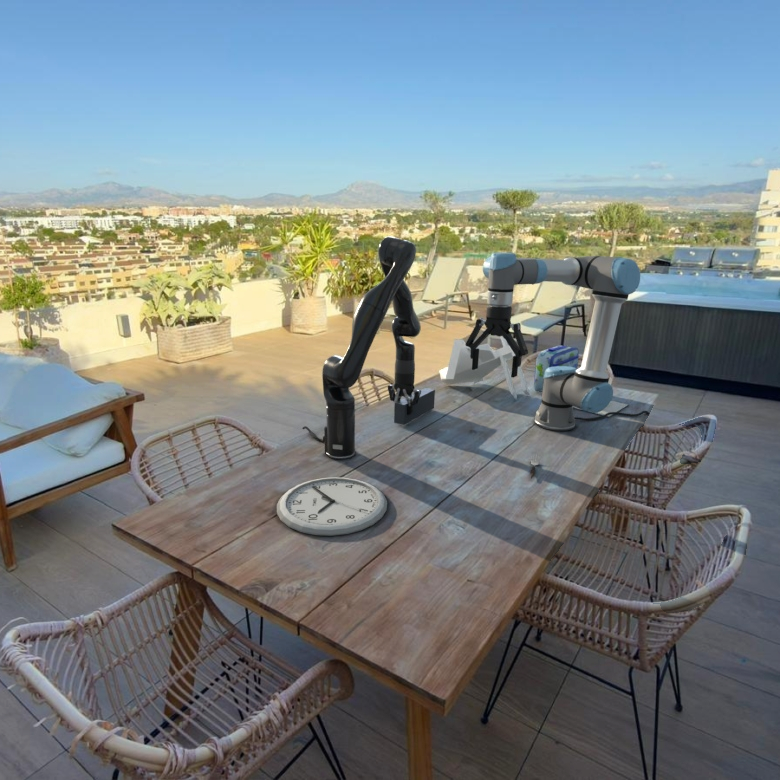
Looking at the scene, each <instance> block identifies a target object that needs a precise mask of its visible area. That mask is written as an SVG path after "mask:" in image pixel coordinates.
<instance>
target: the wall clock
mask: <svg viewBox="0 0 780 780" xmlns="http://www.w3.org/2000/svg"><path fill="white" fill-rule="evenodd" d="M387 509H388V500H387V498H386V496H385V494H384V493H383V492H382V491H381V490H380V489H379V488H377V487H376V486H374V485H372V484H371V483H369V482H365V481H362V480H359V479H355V478H349V477H338V476H337V477H335V476H333V477H332V476H331V477H322V478H317V479H312V480H307V481H305V482H302V483H299V484H297V485H295V486H293V487H292V488H290V489H288V490H287V491H286V492H285V493H284V494H283V495H281V496H280V498H279V499H278V502H277V503H276V515H277V517H278V518H279V520H280V521H281V522H282V523H283V524H285V525H286V526H287V527H288V528H290V529H293V530H295V531H297V532H299V533H303V534H308V535H312V536H327V537H328V536H329V537H331V536H332V537H333V536H342V535H350V534H352V533H356V532H361V531H363V530H366V529H368V528H369V527H372V526H373V525H375V524H376V523H378V522H379V521H380V520H381V519H382V518H383V517H384V516H385V514H386V512H387Z"/></svg>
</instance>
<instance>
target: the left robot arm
mask: <svg viewBox="0 0 780 780" xmlns="http://www.w3.org/2000/svg"><path fill="white" fill-rule="evenodd" d="M377 255H378V260H379V263H380V266H381V269H382V272H383V275H384V279H383V280H382V281H380V282H379V283H378V284H376V285H374V287H372V288H371V289H369V290H368V291H366V293H365V294H363V296H362V297H361V299H360V300H359V302H358V304H357V307H356V309H355V311H354V314H353V317H352V320H351V321H352V322H351V338H350V341H349V344H348V348H347V350H346V351H345V354H344V356H341V355H331V356H329V357H328V358H327V359H326V360H325V361H324V363H323V366H322V370H321V371H322V375H321V376H322V390H323V391H322V393H323V397H324V400H325V404H326V405H325V406H326V407H325V408H326V411H325V413H326V426H324V432H323V433H324V435H323V436H322V439H321V438H319V437H318V436H315V434H314V432H313V431H312V430H311V429H310V428H309V427H308V426H305V425H304V426H302V430H305V429H306V430H307V431H308V433H309V434H310V435H311V436H312V438H313V439H315V440H316V441H319V442H321V443H324V454H325V455H327V457H329V458H330V459H332V460H333V459H334V460H348V459H351V458H353V457H354V456H355V455H356V406H355V405H356V401H355V400H356V399H355V396H354V395H353V393H352V392H351V390H350V388H352V387H353V386H354V385H355V384H356V383H357V382H358V380H359V378H360V376H361V373H362V370H363V367H364V364H365V362H366V359H367V356H368V353H369V351H370V349H371V347H372V344H373V343H374V340H375V338H376V336H377V334H378V332H379V330H380V327H381V325H382V324H383V321H384V319H385V317H386V315H387V313H388V311H389V308H390V306H391V304H392V307H393V308H392V309H393V313H394V315H395V317H394V318H393V320H392V321H391V333H392V336H393V340H394V345H395V361H394V384H392V383H391V384H389V385H388V386H387V391H388V396H389V400H390V401H392V402H393V404H395V402H397V401H399V400H401V399H402V397H404V398H405V399H406V401H407V404H408V406H407V415H410V414H411V413H412V412H413V411H412V410H413V406H414V405H415V404H417V403H418V400H419V397H420V394H421V390H422V389H416V387H415V378H416V377H415V376H416V373H415V372H416V362H415V361H416V360H415V354H416V347H415V344H414V343H412V342H410V341H406V340H405V339H404V337H408V338H415V337H417V336H419V334H420V333H421V327H422V326H421V322H420V319H419V317H418V315H417V313H416V310H415V309H414V301H413V295H412V291H411V290H410V287H409V286H408V284H407V283H406V281H405V280H404V279H405V278H406V277H407V275H408V273H409V271H410V270H411V268H412V266H413V264H414V261H415V259H416V255H417V247H416V245H415V243H413V242H412V241H409V240H405V239H401V238H398V237H394V236H385V237H384V238H383V239H382V240H381V242H379V245H378V250H377ZM412 394H414V398H413V396H412ZM408 396H409V397H408Z"/></svg>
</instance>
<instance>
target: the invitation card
mask: <svg viewBox="0 0 780 780" xmlns="http://www.w3.org/2000/svg"><path fill="white" fill-rule="evenodd" d="M628 406H629V404H627V403H623V402H618V401H614V400H611V401H610V403H609V404H608V406H607V407H605V408H604V409H603V410H602V411H600V412H597V413H595V414H596V415H600V416H603V415H605V414H606V413H609V412H620V411H621V410H623V409H624V408H626V407H628ZM573 409H575V410H581V411H583V410H582V409H580V408H577V407H575V406H573ZM613 415H614V414H610V415H607V416H606V417H608V418H609V417H611V416H613Z"/></svg>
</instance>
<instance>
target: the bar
mask: <svg viewBox="0 0 780 780" xmlns="http://www.w3.org/2000/svg"><path fill="white" fill-rule="evenodd" d="M420 390H421V394H420V397H419V400H418V403H417V404H415V405H414V406H413V410H412V411H413V412H412V413H411V414H410V415H407V406H408V404H407V401H406V399H405V397H404V398H401V399H400V400H399V401H397V402H395V403H394V413H393V414H394V417H393V420H394V421H393V423H394V424H398V425H402V426H406V425H407V424H409V423H410V422H412V421H414V420H416V419H418V418H419V417H421V416H423V415H425V414H427V413H428V412H430V411H432V410H433V409H435V398H436V397H435V396H436V389H434V388H428V387H424V388H422V389H420ZM412 396H413V398H414V393H412ZM408 397H409V396H408Z"/></svg>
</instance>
